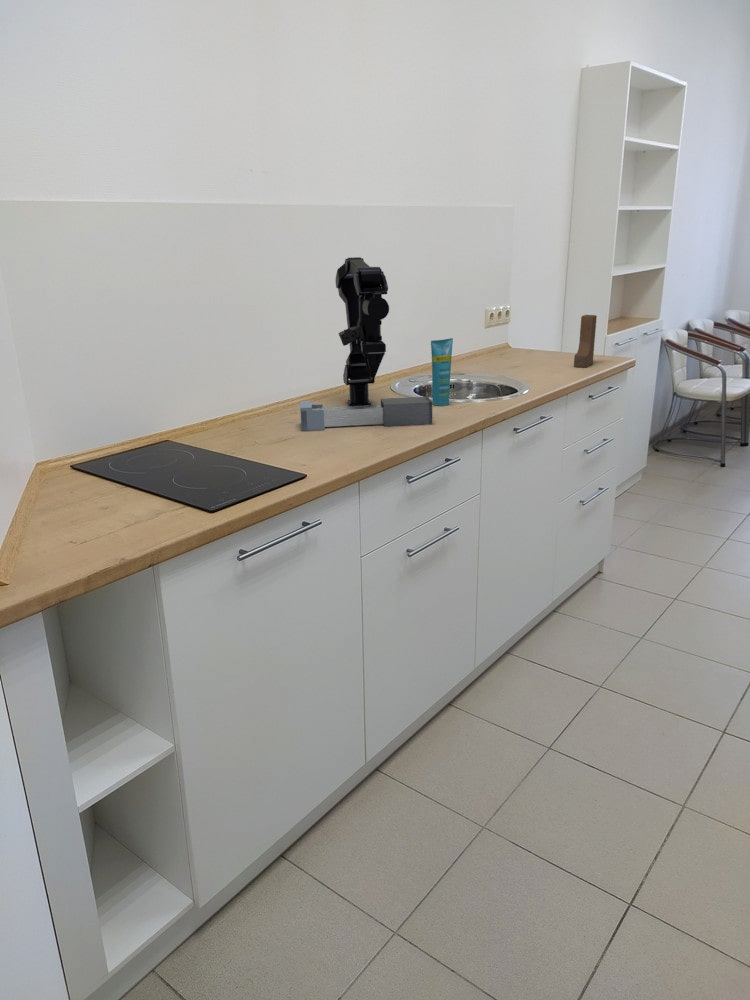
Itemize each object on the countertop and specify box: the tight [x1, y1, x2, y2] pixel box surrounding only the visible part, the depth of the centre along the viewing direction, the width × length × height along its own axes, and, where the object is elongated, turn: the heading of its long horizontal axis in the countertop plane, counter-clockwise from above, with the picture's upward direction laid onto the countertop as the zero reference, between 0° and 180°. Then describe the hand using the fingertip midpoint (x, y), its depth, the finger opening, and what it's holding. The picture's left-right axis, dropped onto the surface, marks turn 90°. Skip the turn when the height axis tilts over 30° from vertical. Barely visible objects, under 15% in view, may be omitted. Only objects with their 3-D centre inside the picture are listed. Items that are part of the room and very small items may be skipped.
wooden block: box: [573, 314, 598, 369], centre depth 270 cm, size 9×4×18 cm, turn 147°
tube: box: [430, 337, 454, 407], centre depth 216 cm, size 7×5×19 cm, turn 123°
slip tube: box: [312, 404, 384, 428], centre depth 198 cm, size 4×22×4 cm, turn 97°
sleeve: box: [380, 396, 433, 427], centre depth 199 cm, size 7×13×6 cm, turn 97°
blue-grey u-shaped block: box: [299, 400, 325, 432], centre depth 196 cm, size 8×6×6 cm
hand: (371, 374), depth 202 cm, fingers open, 9 cm apart
